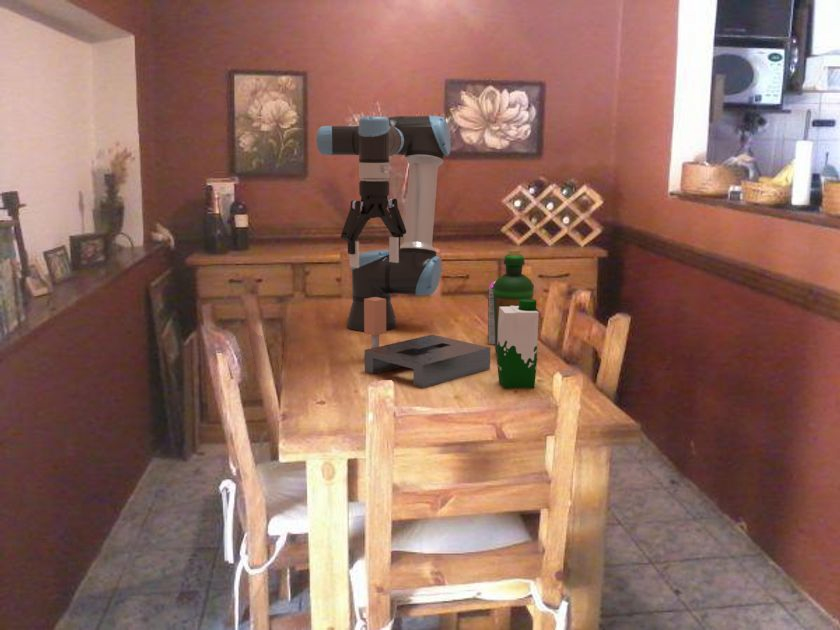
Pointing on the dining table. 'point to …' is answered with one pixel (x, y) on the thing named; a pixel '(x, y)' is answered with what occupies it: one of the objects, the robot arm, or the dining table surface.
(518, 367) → the milk carton
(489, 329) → the candy bar box
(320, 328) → the dining table surface
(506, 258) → the bottle
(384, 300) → the keyhole peg
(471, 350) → the keyhole bracket
